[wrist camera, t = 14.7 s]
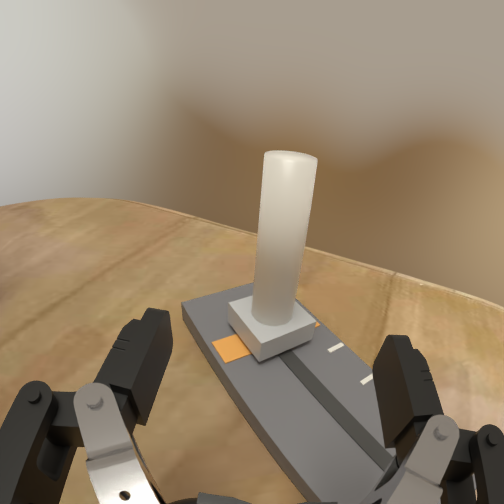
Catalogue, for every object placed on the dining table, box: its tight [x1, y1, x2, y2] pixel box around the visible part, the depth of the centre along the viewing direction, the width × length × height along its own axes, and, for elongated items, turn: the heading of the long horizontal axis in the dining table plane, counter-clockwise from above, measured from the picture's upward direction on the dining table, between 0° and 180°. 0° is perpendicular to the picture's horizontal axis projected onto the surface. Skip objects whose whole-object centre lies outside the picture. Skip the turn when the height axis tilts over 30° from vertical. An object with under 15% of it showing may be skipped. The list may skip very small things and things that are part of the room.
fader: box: [228, 151, 317, 362], centre depth 22 cm, size 5×5×14 cm
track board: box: [181, 282, 476, 504], centre depth 21 cm, size 28×10×2 cm, turn 30°
